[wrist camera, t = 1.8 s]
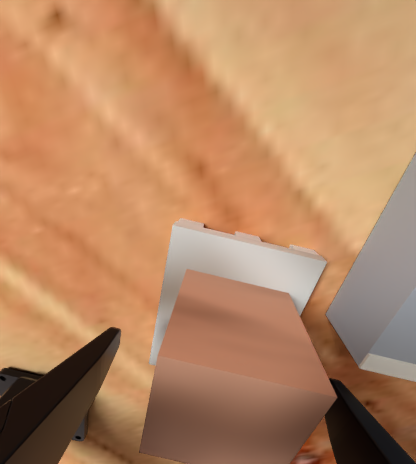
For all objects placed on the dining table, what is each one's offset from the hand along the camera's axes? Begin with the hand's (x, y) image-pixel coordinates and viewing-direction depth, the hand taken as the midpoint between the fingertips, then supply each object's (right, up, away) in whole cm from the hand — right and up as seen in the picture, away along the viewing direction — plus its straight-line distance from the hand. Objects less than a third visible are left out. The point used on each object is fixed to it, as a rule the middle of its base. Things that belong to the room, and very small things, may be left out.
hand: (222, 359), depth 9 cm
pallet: (0, +1, +3) cm, 4 cm away
